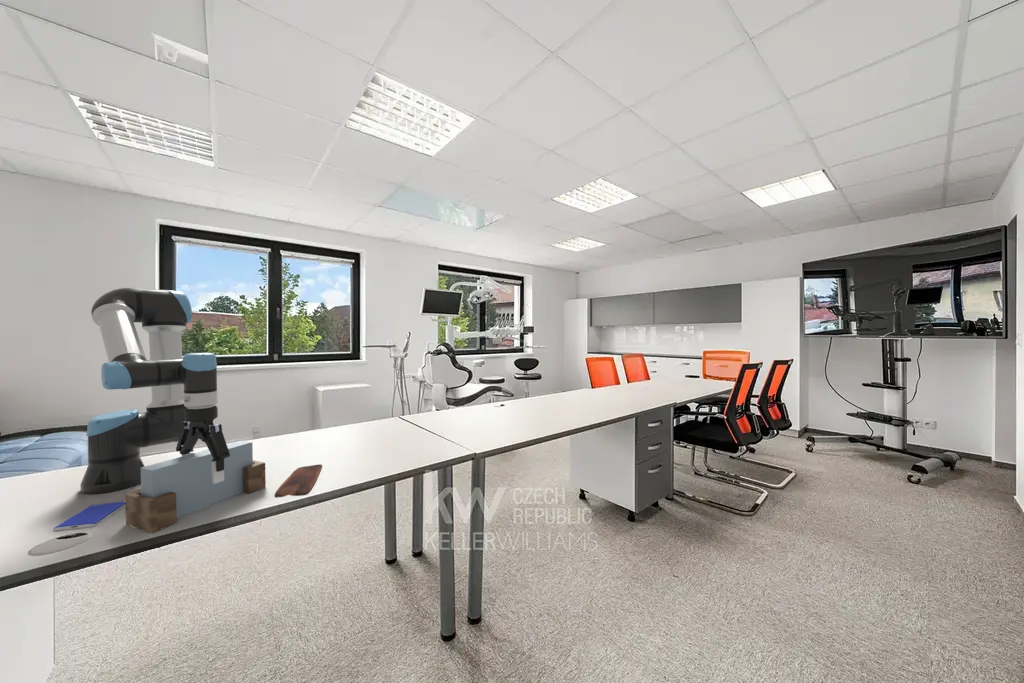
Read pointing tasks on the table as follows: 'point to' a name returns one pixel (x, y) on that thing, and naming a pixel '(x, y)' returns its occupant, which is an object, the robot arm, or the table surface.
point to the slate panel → (197, 478)
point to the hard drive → (91, 516)
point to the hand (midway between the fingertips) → (202, 478)
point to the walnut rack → (163, 507)
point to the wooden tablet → (299, 481)
